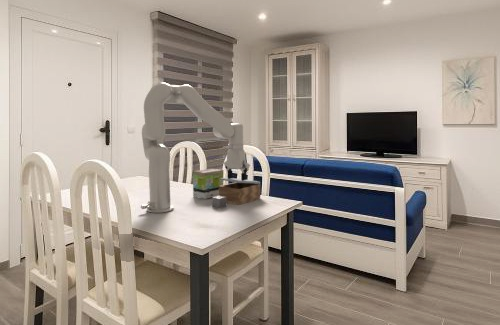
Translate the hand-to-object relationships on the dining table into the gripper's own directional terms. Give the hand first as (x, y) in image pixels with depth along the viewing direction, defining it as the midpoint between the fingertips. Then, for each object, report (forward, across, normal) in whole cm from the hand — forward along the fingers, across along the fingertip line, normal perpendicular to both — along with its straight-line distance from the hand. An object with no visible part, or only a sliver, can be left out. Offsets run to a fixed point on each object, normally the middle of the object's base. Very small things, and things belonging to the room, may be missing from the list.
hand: (236, 179), depth 184 cm
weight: (+12, +2, -16) cm, 19 cm away
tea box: (+12, -20, -2) cm, 24 cm away
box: (+12, 0, +2) cm, 12 cm away
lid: (+2, 0, +3) cm, 3 cm away
